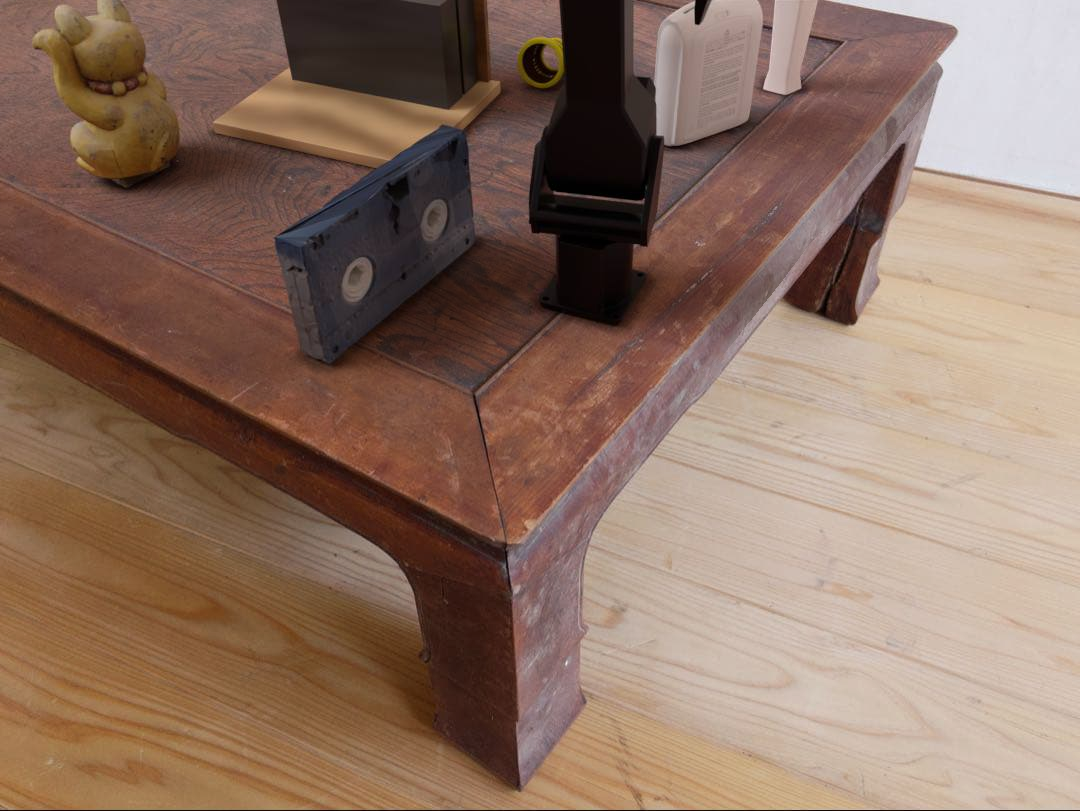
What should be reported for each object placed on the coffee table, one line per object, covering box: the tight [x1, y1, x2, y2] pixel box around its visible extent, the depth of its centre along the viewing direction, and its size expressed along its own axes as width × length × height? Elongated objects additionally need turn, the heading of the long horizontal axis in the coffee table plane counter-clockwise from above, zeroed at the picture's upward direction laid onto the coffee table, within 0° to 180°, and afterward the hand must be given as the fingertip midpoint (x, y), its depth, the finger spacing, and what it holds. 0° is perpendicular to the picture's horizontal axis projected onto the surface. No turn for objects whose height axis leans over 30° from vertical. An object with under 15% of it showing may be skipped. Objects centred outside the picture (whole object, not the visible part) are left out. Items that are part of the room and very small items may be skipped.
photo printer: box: [653, 0, 764, 147], centre depth 89 cm, size 10×4×12 cm, turn 123°
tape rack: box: [212, 0, 502, 169], centre depth 93 cm, size 18×22×11 cm
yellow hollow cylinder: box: [516, 36, 564, 89], centre depth 99 cm, size 10×5×5 cm, turn 58°
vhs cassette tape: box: [273, 124, 476, 365], centre depth 72 cm, size 18×3×10 cm, turn 146°
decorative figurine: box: [31, 0, 181, 189], centre depth 85 cm, size 10×8×15 cm
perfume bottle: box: [762, 0, 819, 96], centre depth 95 cm, size 5×4×15 cm
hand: (644, 14), depth 79 cm, fingers open, 9 cm apart
